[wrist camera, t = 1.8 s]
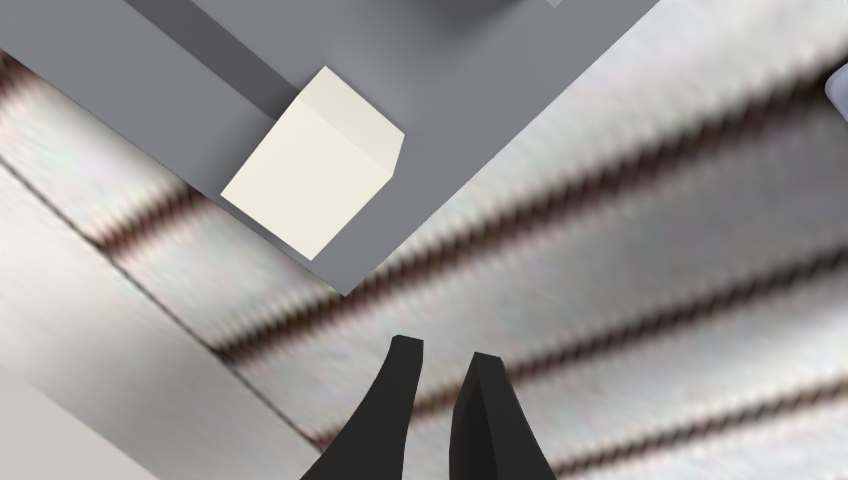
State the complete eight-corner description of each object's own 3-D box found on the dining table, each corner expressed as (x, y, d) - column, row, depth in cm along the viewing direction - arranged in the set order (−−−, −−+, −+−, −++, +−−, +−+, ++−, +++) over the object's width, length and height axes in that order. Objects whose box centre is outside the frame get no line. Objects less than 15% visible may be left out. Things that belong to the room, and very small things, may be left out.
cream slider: (405, 134, 17) (392, 176, 14) (333, 210, 18) (310, 260, 16) (325, 65, 16) (296, 96, 13) (257, 151, 17) (220, 194, 15)
